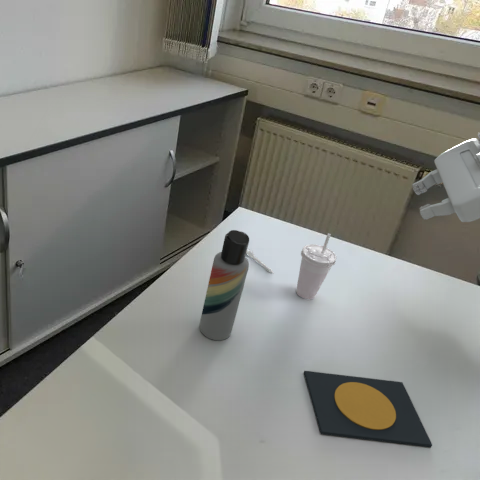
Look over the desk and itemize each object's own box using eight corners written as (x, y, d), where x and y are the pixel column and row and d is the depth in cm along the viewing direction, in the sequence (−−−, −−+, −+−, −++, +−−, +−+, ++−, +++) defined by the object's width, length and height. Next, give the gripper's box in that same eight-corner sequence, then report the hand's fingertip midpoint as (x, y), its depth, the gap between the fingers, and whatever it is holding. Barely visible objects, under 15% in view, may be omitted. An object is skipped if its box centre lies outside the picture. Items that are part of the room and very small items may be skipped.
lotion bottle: (211, 315, 99) (233, 221, 88) (237, 331, 96) (263, 236, 85) (192, 328, 95) (212, 232, 85) (218, 346, 92) (242, 249, 81)
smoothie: (326, 305, 104) (349, 244, 97) (293, 302, 104) (314, 242, 97) (316, 284, 110) (337, 226, 102) (285, 282, 110) (304, 223, 102)
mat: (401, 384, 88) (403, 381, 88) (431, 447, 78) (433, 444, 78) (303, 372, 89) (304, 369, 88) (320, 434, 78) (322, 430, 78)
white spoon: (274, 274, 112) (276, 266, 110) (258, 279, 110) (260, 270, 108) (231, 239, 122) (233, 231, 120) (216, 243, 120) (218, 235, 118)
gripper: (538, 207, 76) (435, 246, 84) (501, 154, 93) (418, 191, 100) (519, 171, 75) (416, 214, 82) (485, 124, 91) (402, 164, 99)
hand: (417, 201), depth 92 cm, fingers open, 8 cm apart
